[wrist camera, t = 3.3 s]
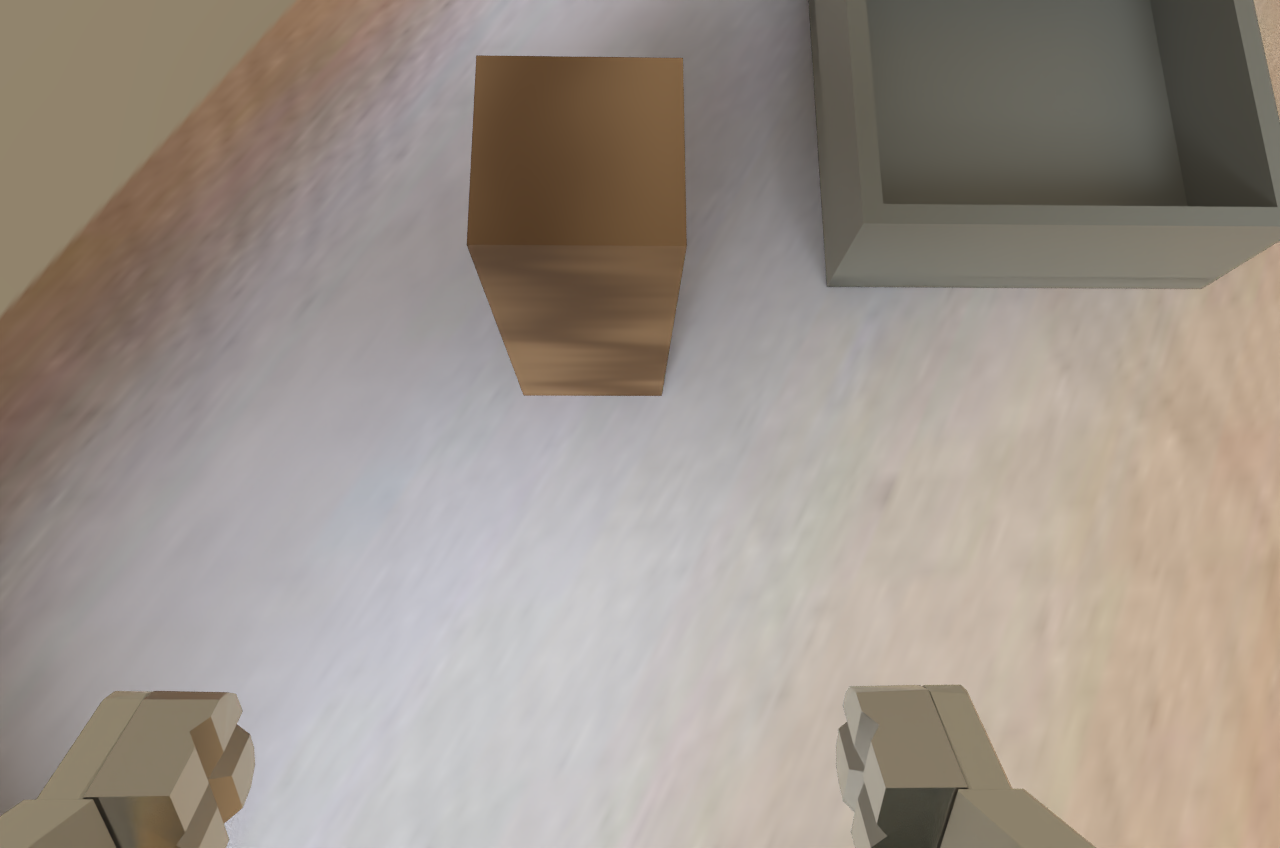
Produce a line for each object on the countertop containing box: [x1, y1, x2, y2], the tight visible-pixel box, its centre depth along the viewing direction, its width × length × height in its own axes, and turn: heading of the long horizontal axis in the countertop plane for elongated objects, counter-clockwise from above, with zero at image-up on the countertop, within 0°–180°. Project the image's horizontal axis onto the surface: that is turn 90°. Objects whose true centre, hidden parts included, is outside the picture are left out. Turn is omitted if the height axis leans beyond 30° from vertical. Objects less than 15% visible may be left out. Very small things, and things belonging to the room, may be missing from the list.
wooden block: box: [467, 56, 687, 396], centre depth 26 cm, size 5×5×12 cm
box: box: [809, 0, 1280, 289], centre depth 32 cm, size 14×14×5 cm
